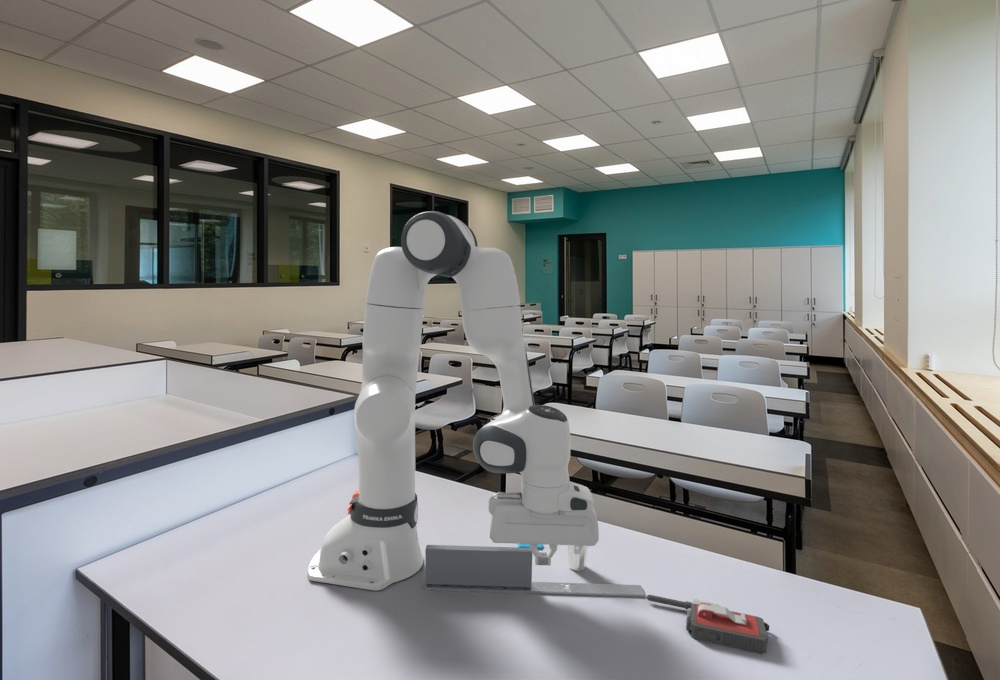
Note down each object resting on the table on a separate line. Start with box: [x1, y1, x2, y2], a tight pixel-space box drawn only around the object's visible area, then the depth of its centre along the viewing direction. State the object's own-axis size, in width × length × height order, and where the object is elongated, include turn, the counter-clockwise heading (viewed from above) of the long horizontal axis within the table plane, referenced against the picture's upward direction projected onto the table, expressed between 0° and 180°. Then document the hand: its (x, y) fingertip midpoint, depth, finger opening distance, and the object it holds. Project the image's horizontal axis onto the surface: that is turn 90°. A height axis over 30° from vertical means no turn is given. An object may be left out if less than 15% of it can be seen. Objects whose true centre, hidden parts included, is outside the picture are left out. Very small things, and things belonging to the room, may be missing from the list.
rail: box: [424, 581, 645, 598], centre depth 99 cm, size 41×3×1 cm, turn 89°
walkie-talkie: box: [646, 594, 770, 655], centre depth 89 cm, size 9×4×20 cm
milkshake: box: [567, 545, 588, 572], centre depth 106 cm, size 4×5×10 cm
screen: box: [425, 544, 533, 587], centre depth 99 cm, size 20×2×7 cm, turn 89°
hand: (542, 563), depth 99 cm, fingers closed
